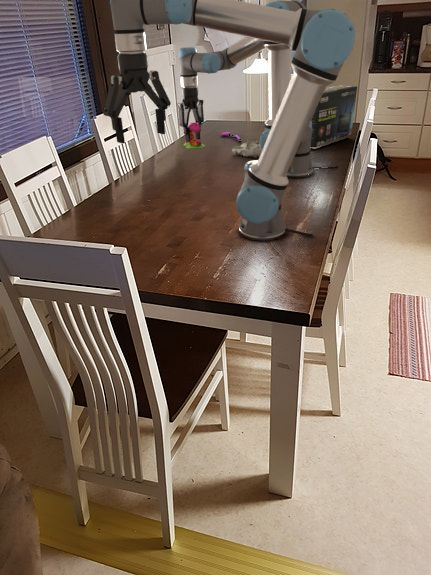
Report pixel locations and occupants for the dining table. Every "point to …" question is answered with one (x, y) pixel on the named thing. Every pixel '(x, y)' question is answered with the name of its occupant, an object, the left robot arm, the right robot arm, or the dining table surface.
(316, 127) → the router box
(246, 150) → the fossil
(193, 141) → the toy figurine
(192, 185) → the dining table surface
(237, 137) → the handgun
